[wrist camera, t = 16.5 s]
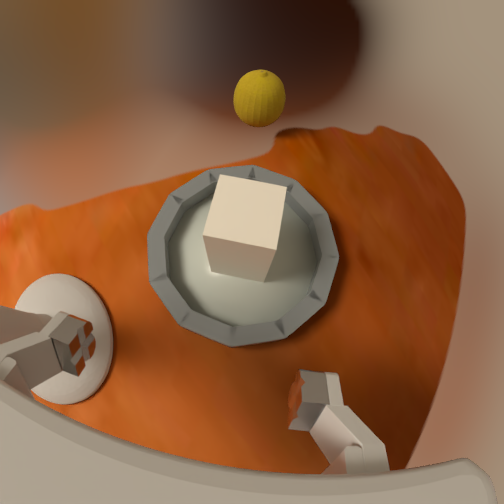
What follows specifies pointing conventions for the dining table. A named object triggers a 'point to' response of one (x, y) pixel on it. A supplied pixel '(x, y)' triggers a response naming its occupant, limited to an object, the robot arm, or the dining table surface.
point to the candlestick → (37, 317)
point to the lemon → (259, 98)
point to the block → (243, 227)
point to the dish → (233, 288)
